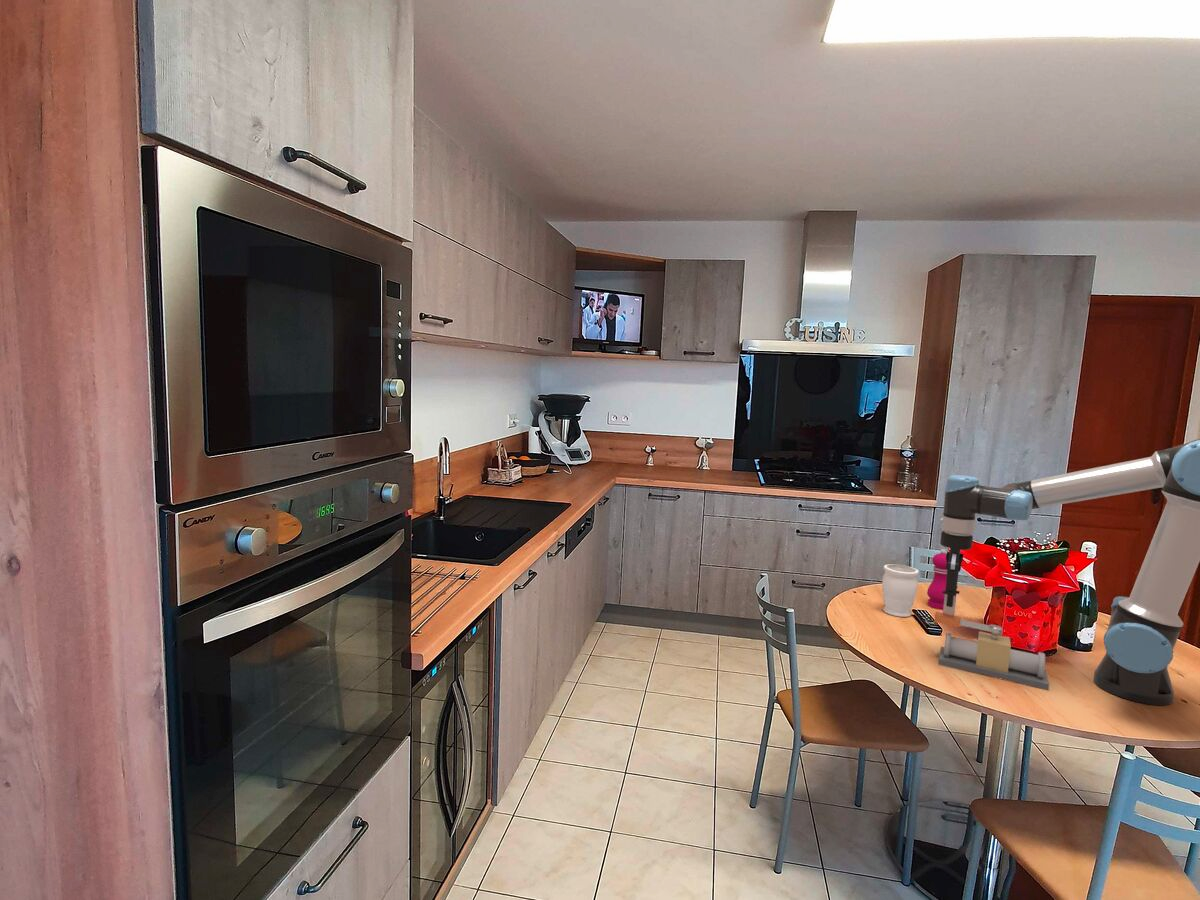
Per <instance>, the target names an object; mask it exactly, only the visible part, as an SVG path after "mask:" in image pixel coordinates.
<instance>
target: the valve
mask: <svg viewBox="0 0 1200 900" xmlns="http://www.w3.org/2000/svg"><path fill="white" fill-rule="evenodd" d="M1011 647H1012V646H1011V637H1009V636H1004V635H995V634H992V633H989V632H984V631H981V630H980V631H978V637H977V641H974V640H970V639H966V638H961V637H956V636H952V633H950V632H949V633H948V632H945V640H944V646H943V645H942V646H940V650H939V655H938V665H939V666H945V667H949V668H952V669H956V668H957V669H958V670H960V669H961V671H965V672H969V673H973V674H977V673H978V674H979V675H982V674H984V675H983V676H986V675H988V676H987V677H990V676H993V677H992V678H994V677H997V678H996V679H999V678H1002V679H1001V680H1003V679H1006V680H1005V681H1007V680H1011V681H1014V682H1013V683H1016V682H1018V683H1017V684H1020V683H1022V684H1021V685H1024V684H1026V685H1025V686H1028V685H1029V687H1033V688H1038V689H1042V690H1046V691H1049V688H1050V687H1049V686H1050V684H1049V678H1048V675H1047V670H1046V654H1045V652H1041V651H1040V652H1039V651H1038V653H1037V654H1035V653H1031V652H1028V651H1027V652H1026V651H1021V650H1018V649H1017V650H1016V649H1012V648H1011ZM957 669H956V670H957ZM1011 681H1010V682H1011Z"/></svg>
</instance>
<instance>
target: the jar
mask: <svg viewBox="0 0 1200 900" xmlns="http://www.w3.org/2000/svg"><path fill="white" fill-rule="evenodd" d="M883 570H884V573H883V575H882V581H881V582H882V583H881V590H882V591H881V592H882V601H883V604H884V606H883V608H882V609H883V611H884V612H885V613H886V614H888V615H890V616H894V617H898V618H899V617H900V618H901V617H902V618H906V617H910V616H911V615H912V611H911V609H912V608H913V606H914V604H915V600H916V596H917V592H918V578H917V576H918V575H919V570H918V569H917V568H915V567H911V566H909V565H904V564H894V563H891V564H890V563H889V564H885V565H883Z"/></svg>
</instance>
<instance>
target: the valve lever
mask: <svg viewBox="0 0 1200 900" xmlns="http://www.w3.org/2000/svg"><path fill="white" fill-rule="evenodd" d="M933 619H934V620H933V621H934V623H936V624H941V625H947V626H951V627H956V628H960V627H961V626H962V627H967V628H971V629H975V630H976V629H977V630H980V631H986V632H987V633H990V634H991V633H992V634H995V635H1000V636H1003V635H1002V634H1003V627H1002V626H1001V625H997V624H989V625H988V624H984V623H980V622H974V621H972V620H971V621H970V620H966V619H962V617H961V616H957V615H955V614H954V615H949V614H944V613H943V612H939V611H935V613H934V618H933Z"/></svg>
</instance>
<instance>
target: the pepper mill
mask: <svg viewBox="0 0 1200 900" xmlns="http://www.w3.org/2000/svg"><path fill="white" fill-rule="evenodd" d="M946 553H947V550H946V549H945V548H942V549H941V550H940V553H936V554H934V555H933V557H932V560H931V561H932V564H933V565H934V566H933V569H932V571H933V573H934V574H933V579H932V581H931V583H930V584H929V586H928V588H927V591H926V594H927V596H928V597H929V598H928V600H927V606H929V607H930V608H933V609H935V610H942V611H943V608H944V598H945V594H943V593H942V592H943V591H945V590H946V579H947V569H946V563H947V560H946Z"/></svg>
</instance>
